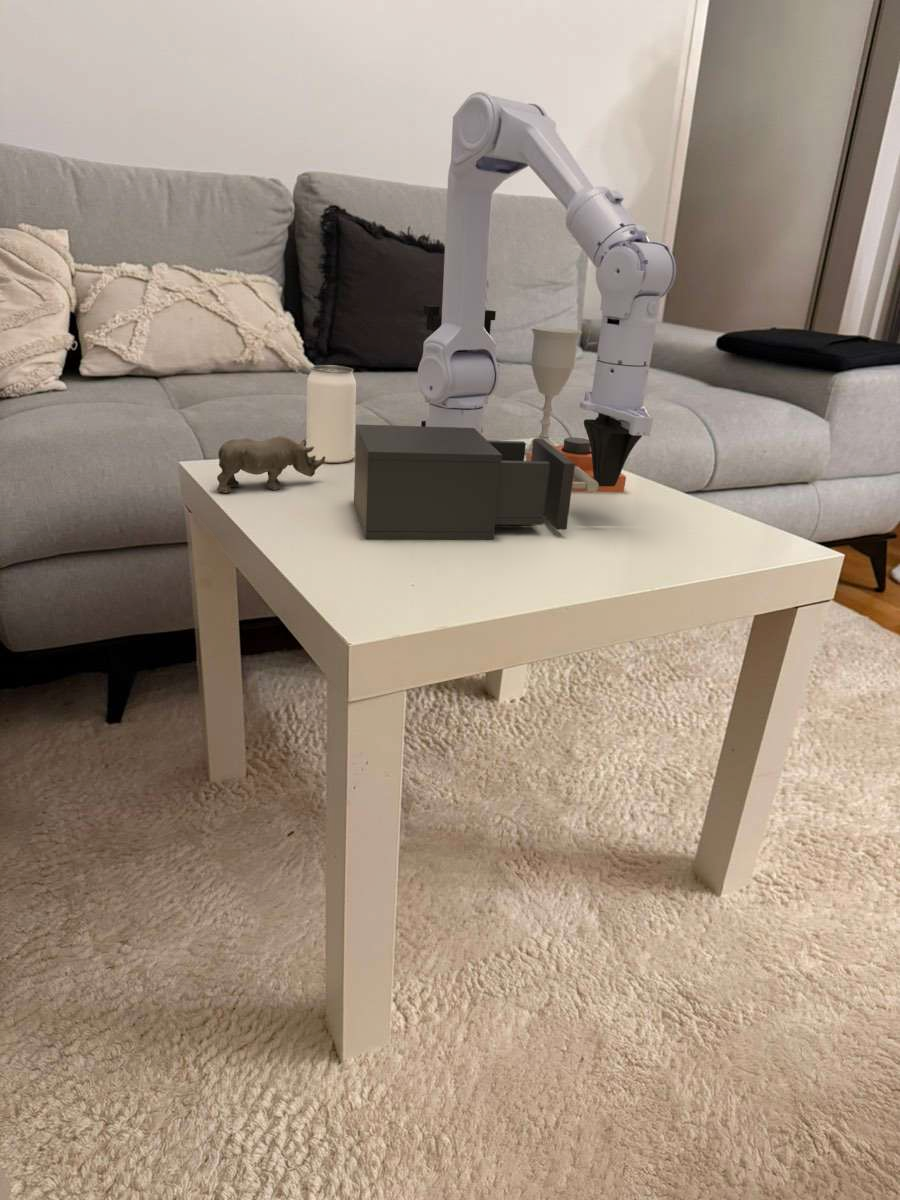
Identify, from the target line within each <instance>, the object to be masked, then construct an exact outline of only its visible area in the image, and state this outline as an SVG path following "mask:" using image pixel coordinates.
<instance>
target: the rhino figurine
mask: <svg viewBox="0 0 900 1200" xmlns="http://www.w3.org/2000/svg"><path fill="white" fill-rule="evenodd" d="M313 449H314V446H313V447H309V448H307V439H303V440H301V442H300V443H297V441H295V440H293V439H291V438H289V437H286V436H274V437H271V438H269V439H266V440H255V439H251V438H237V439H229V440H227V441H226V442H224V443H223V444H222V445H221V446H220V447H219V450H218V454H217V455H218V466H219V468H220V469H221V472H220V473H219V474H218V475H217V478H216V480H217V482H218V487H217V488H216V491H217V492H219V493H223V494H224V493H225V494H227V493H231V492H232V491H233V490H232V488H234V487H239V486H240V483H239V480H237V479H236V477H235V474H237V473H239V472H240V471H243V472H245V473H247V474H251V475H255V476H256V475H262V474H266V473H267V481H266V482H267V483H266V487H267V488H269V489H271V490H273V491H275V490H280V489H281V486H280V480H279V479H278V478H279V476H280V475H281V474H282V472H283V470H285V469H287V467H288V466H292V467H293V468H294V470H295V471H296V472H298V473H300V474H302V475H304V476H307V477H310V478H311V477H313V476H314V475H315V474H316V470H317V469H318V468H320V467H321V465H323V464H324V463H323V462H324V460H325V456H324V457H323V458H322V459H321V460H319V461H314V460H315V458H316V456H312V457H309V456H308V453H309V452H311V451H312V450H313Z"/></svg>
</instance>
